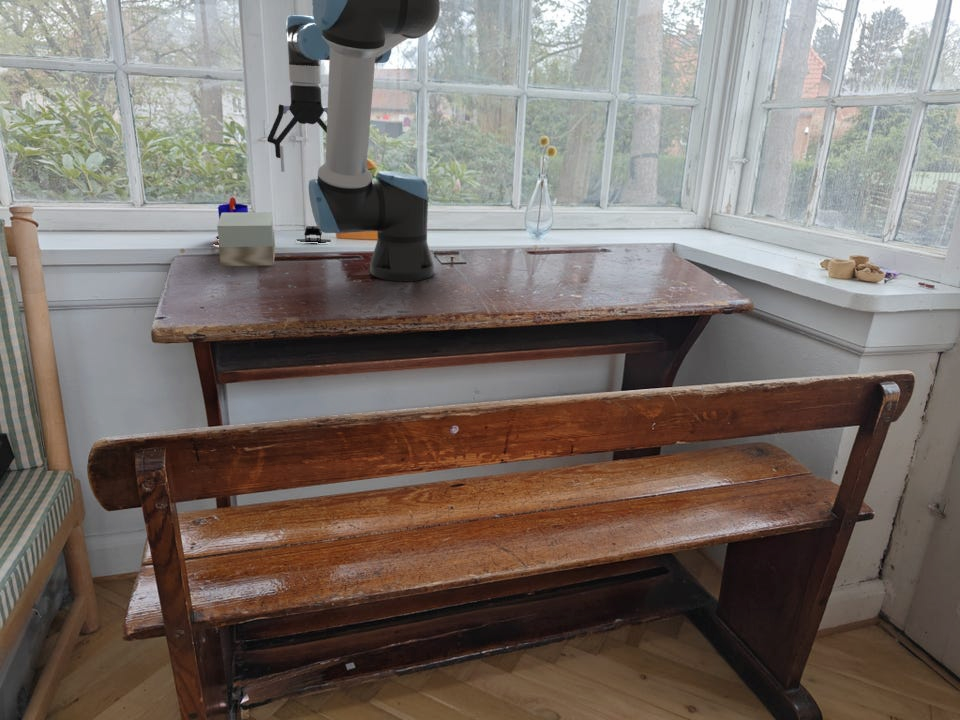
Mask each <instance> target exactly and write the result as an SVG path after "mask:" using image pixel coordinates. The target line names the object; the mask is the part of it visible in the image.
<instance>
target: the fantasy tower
mask: <svg viewBox="0 0 960 720" xmlns="http://www.w3.org/2000/svg"><path fill="white" fill-rule="evenodd" d="M248 209H249V208H248V205H247V204H242V203H237V201H236V198H235V197H233V196H231V197H230V198H229V203H226V204H225V203H224V204H220V205H219V204H218V207H217V211H218V212H217V213H218V220H219V219H220V216H221V213H247V212H249V210H248ZM215 238H217V239H219V237H218V235H216V237H215ZM217 239H216V240H217ZM213 244H215V245H219V243H218V241H217V242H216V241H215V242H214V243H213Z"/></svg>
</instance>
